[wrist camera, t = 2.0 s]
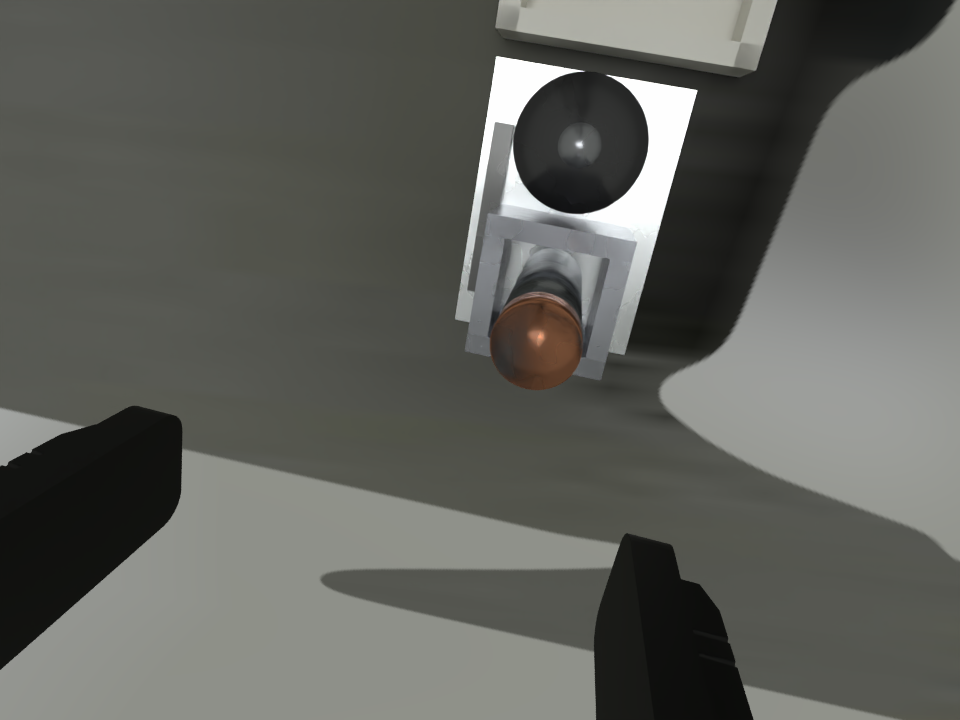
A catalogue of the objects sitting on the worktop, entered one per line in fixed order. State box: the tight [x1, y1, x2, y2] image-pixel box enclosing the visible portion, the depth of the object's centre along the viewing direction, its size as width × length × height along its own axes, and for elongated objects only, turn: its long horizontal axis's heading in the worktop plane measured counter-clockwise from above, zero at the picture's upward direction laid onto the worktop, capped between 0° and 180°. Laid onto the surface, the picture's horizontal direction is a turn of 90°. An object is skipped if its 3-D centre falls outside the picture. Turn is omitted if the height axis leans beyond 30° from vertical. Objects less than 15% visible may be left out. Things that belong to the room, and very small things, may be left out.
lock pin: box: [490, 248, 582, 390], centre depth 28 cm, size 3×3×12 cm
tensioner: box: [455, 57, 697, 381], centre depth 30 cm, size 14×10×6 cm
